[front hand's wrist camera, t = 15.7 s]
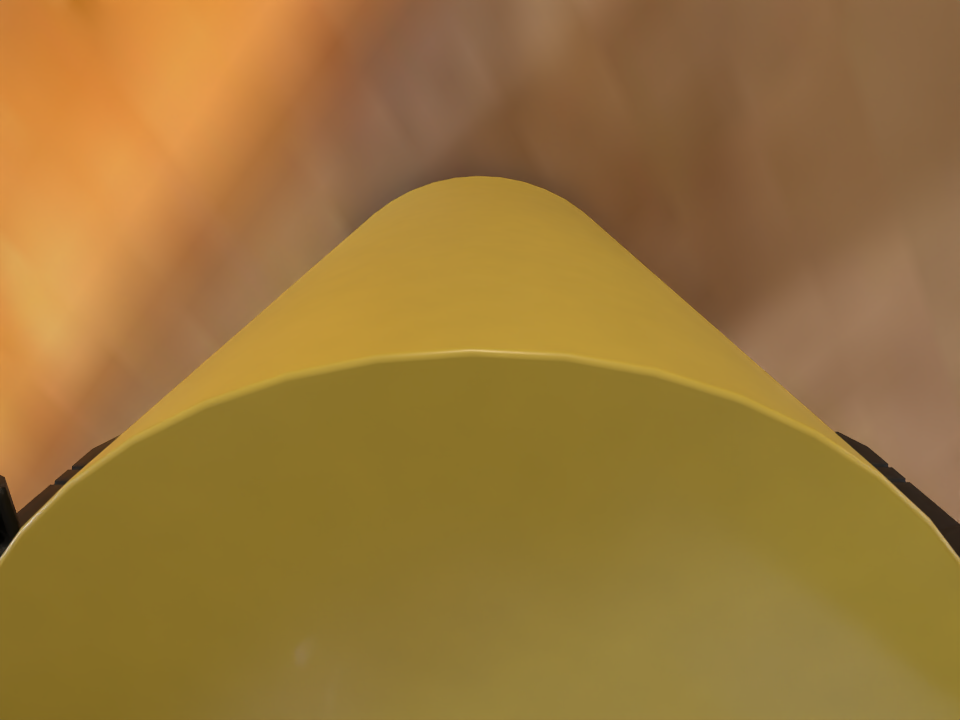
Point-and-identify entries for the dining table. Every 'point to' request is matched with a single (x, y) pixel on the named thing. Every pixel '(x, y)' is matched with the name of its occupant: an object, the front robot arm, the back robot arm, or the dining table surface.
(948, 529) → the front robot arm
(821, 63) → the dining table surface
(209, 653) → the canister
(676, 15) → the dining table surface
